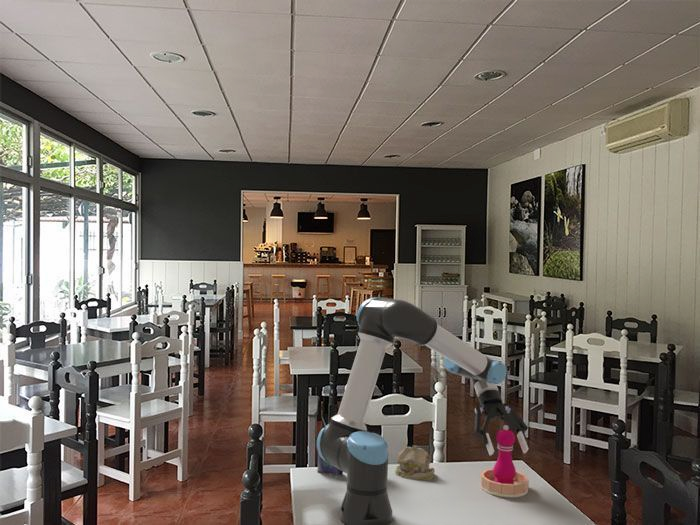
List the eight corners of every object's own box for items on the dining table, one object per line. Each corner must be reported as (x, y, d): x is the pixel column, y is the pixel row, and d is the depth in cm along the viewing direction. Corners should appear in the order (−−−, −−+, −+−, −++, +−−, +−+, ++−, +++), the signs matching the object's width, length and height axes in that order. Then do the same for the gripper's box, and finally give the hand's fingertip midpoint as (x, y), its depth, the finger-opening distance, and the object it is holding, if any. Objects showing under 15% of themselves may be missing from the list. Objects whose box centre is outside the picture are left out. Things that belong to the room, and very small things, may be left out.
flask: (316, 472, 209) (317, 441, 209) (319, 469, 212) (320, 439, 212) (341, 476, 206) (342, 444, 206) (344, 473, 209) (345, 442, 209)
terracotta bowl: (473, 489, 197) (473, 477, 197) (491, 476, 209) (491, 465, 209) (518, 501, 188) (518, 488, 188) (534, 487, 200) (534, 475, 200)
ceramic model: (390, 476, 208) (390, 447, 208) (399, 465, 218) (400, 438, 218) (429, 482, 202) (430, 453, 202) (437, 471, 213) (438, 443, 213)
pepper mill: (490, 487, 197) (492, 426, 196) (495, 479, 203) (497, 420, 203) (513, 491, 194) (515, 429, 193) (517, 483, 200) (519, 423, 200)
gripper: (514, 398, 216) (537, 455, 201) (453, 401, 210) (471, 460, 195) (523, 387, 211) (546, 444, 196) (460, 389, 205) (479, 448, 190)
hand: (509, 452), depth 196 cm, fingers open, 11 cm apart
